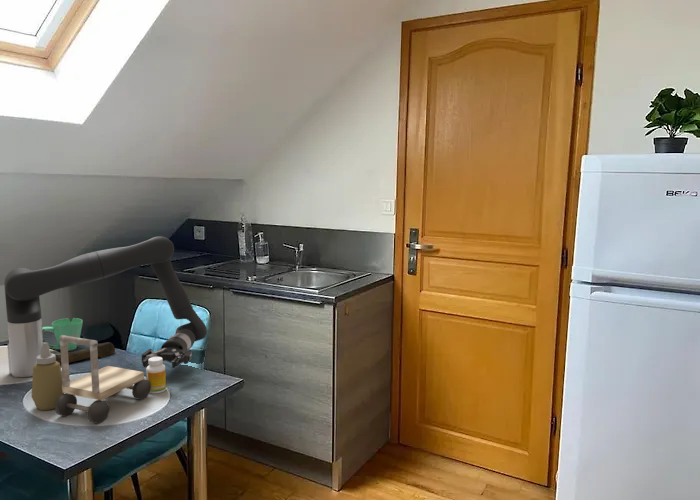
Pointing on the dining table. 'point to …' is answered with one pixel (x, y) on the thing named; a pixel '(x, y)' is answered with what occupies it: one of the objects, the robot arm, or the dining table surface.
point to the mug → (65, 331)
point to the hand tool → (102, 351)
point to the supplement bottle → (156, 374)
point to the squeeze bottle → (46, 380)
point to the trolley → (96, 383)
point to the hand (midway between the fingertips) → (158, 364)
